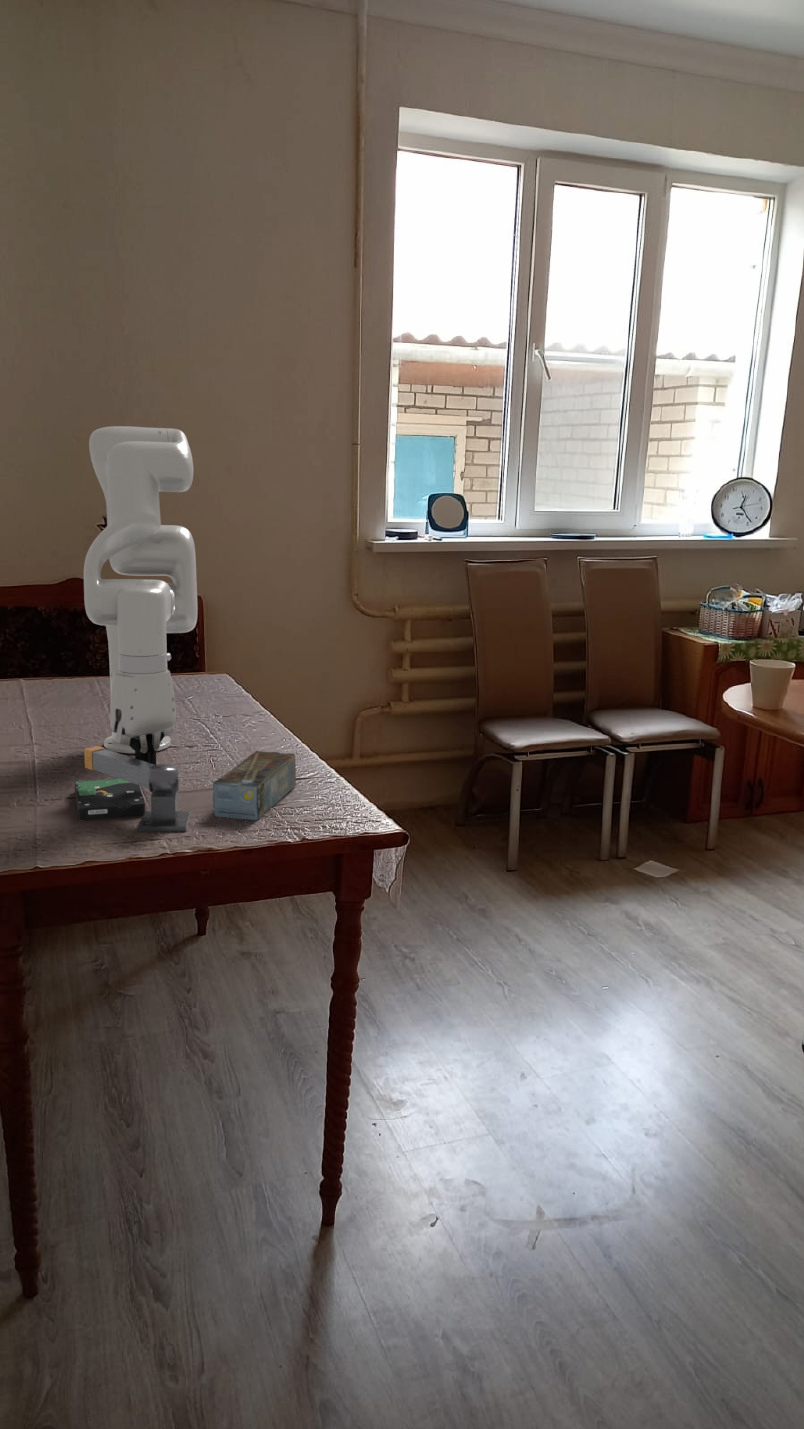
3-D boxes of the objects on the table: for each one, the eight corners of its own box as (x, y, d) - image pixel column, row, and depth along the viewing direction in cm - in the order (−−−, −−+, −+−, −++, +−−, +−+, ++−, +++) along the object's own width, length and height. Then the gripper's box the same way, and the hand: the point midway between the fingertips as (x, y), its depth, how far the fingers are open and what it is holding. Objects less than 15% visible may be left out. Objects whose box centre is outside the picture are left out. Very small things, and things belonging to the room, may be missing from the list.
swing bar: (184, 790, 162) (184, 767, 161) (161, 796, 158) (161, 773, 157) (103, 763, 174) (102, 742, 173) (80, 768, 171) (79, 747, 170)
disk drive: (147, 819, 166) (137, 790, 180) (146, 803, 165) (136, 774, 179) (78, 825, 163) (73, 794, 176) (78, 808, 162) (73, 778, 175)
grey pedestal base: (144, 816, 166) (143, 786, 164) (189, 815, 166) (189, 785, 165) (138, 831, 159) (138, 800, 158) (186, 831, 160) (185, 800, 158)
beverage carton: (210, 817, 167) (210, 777, 165) (254, 783, 185) (254, 747, 183) (257, 822, 165) (257, 782, 163) (297, 787, 183) (298, 751, 182)
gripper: (164, 654, 176) (167, 760, 180) (89, 666, 164) (93, 778, 168) (194, 661, 171) (196, 769, 175) (118, 673, 160) (122, 788, 164)
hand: (146, 773), depth 172 cm, fingers closed
